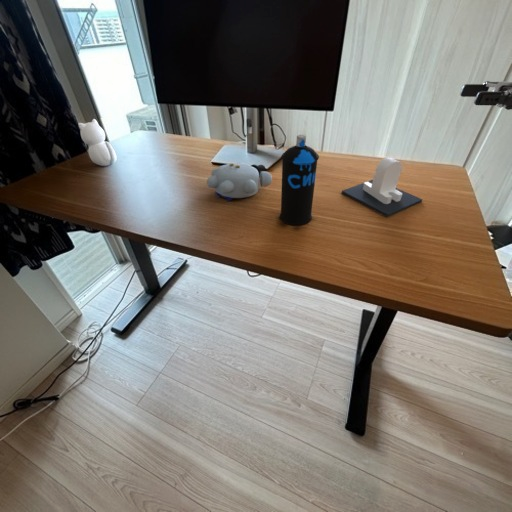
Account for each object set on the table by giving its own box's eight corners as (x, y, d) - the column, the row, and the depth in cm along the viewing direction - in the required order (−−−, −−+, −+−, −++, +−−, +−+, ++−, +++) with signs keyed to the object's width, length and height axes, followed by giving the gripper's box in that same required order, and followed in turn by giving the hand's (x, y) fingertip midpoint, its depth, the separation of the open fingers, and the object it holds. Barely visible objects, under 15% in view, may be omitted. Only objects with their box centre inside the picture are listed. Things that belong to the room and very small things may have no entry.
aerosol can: (275, 212, 72) (276, 133, 59) (303, 206, 73) (310, 128, 60) (287, 228, 66) (291, 144, 53) (317, 222, 67) (328, 139, 54)
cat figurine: (106, 157, 109) (90, 116, 99) (128, 161, 104) (113, 119, 94) (86, 165, 103) (67, 122, 93) (108, 170, 98) (91, 126, 88)
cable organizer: (385, 204, 71) (396, 167, 65) (361, 188, 78) (370, 154, 72) (401, 200, 73) (414, 164, 66) (376, 185, 80) (386, 151, 73)
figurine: (237, 210, 72) (282, 191, 84) (236, 179, 67) (285, 164, 79) (196, 192, 81) (243, 177, 93) (194, 163, 76) (243, 151, 88)
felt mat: (421, 201, 73) (422, 199, 73) (387, 217, 68) (388, 214, 67) (374, 181, 84) (374, 178, 83) (341, 193, 79) (341, 190, 78)
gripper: (556, 66, 54) (465, 67, 57) (608, 76, 43) (492, 77, 47) (533, 108, 59) (450, 107, 62) (574, 126, 48) (471, 123, 52)
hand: (468, 94), depth 54 cm, fingers open, 8 cm apart
